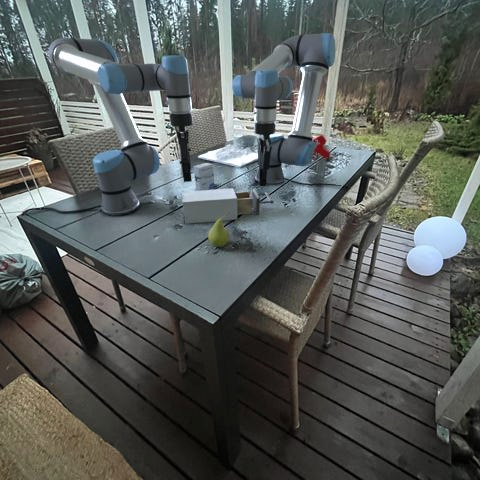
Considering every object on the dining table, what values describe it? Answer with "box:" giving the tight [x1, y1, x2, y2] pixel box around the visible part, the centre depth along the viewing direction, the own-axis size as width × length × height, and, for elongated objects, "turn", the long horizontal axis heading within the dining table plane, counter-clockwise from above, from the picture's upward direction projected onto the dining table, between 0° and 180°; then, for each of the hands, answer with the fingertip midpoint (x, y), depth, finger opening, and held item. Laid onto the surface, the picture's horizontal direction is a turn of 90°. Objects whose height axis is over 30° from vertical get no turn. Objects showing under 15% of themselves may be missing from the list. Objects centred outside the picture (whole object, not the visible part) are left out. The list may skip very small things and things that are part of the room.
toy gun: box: [312, 133, 331, 161], centre depth 176 cm, size 18×4×15 cm
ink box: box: [193, 162, 215, 191], centre depth 132 cm, size 8×5×12 cm, turn 135°
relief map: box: [197, 143, 258, 168], centre depth 180 cm, size 27×35×5 cm
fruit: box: [207, 212, 230, 248], centre depth 89 cm, size 7×8×12 cm
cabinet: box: [182, 187, 238, 225], centre depth 109 cm, size 20×10×9 cm, turn 100°
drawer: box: [234, 189, 274, 216], centre depth 110 cm, size 25×9×7 cm, turn 100°
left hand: (187, 175), depth 101 cm, fingers open, 13 cm apart
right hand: (262, 185), depth 108 cm, fingers closed
